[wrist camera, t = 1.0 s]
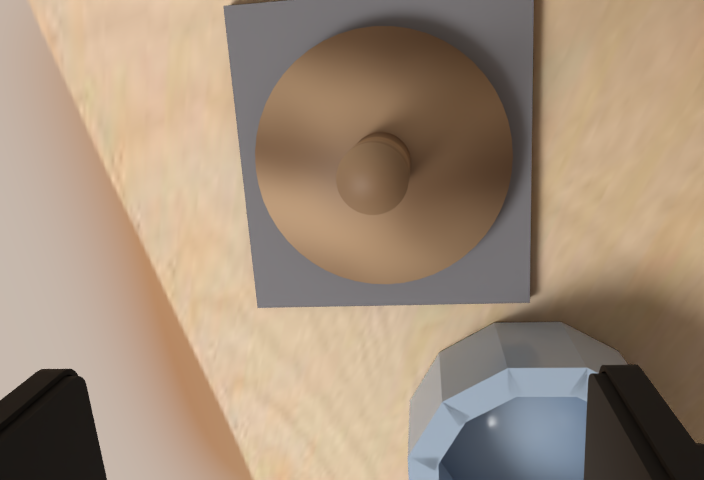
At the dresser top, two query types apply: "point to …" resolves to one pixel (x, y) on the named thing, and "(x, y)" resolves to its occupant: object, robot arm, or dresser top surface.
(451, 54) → the lid
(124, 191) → the dresser top surface
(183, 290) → the dresser top surface
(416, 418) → the bowl
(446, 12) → the mat
